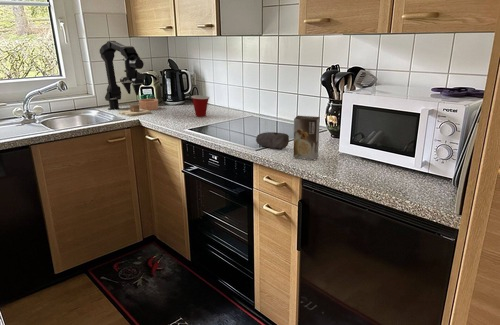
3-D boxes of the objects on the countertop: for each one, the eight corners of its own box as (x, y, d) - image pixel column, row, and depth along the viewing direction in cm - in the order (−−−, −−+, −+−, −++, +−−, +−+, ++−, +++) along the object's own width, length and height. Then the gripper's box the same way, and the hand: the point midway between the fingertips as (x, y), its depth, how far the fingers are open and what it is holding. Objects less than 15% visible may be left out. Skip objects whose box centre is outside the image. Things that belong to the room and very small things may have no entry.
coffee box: (318, 156, 151) (320, 116, 146) (315, 160, 146) (317, 119, 140) (296, 153, 154) (297, 115, 149) (292, 158, 149) (293, 118, 144)
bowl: (136, 109, 249) (135, 100, 247) (152, 107, 257) (151, 98, 255) (146, 111, 241) (145, 102, 239) (162, 109, 249) (161, 100, 247)
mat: (118, 114, 234) (118, 113, 234) (139, 110, 244) (139, 110, 244) (130, 117, 224) (130, 116, 224) (152, 114, 235) (152, 113, 234)
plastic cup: (209, 117, 222) (208, 97, 219) (190, 118, 223) (189, 97, 219) (211, 114, 233) (210, 94, 229) (193, 114, 233) (192, 94, 229)
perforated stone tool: (253, 146, 165) (253, 131, 162) (259, 143, 169) (259, 128, 167) (284, 151, 157) (284, 135, 155) (289, 148, 162) (290, 132, 159)
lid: (119, 113, 234) (118, 105, 232) (139, 110, 244) (138, 102, 242) (130, 116, 225) (129, 107, 223) (151, 113, 234) (150, 104, 233)
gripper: (150, 68, 225) (153, 94, 230) (134, 66, 237) (137, 91, 242) (133, 69, 217) (136, 96, 222) (118, 68, 230) (121, 93, 235)
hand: (133, 94), depth 230 cm, fingers open, 9 cm apart
